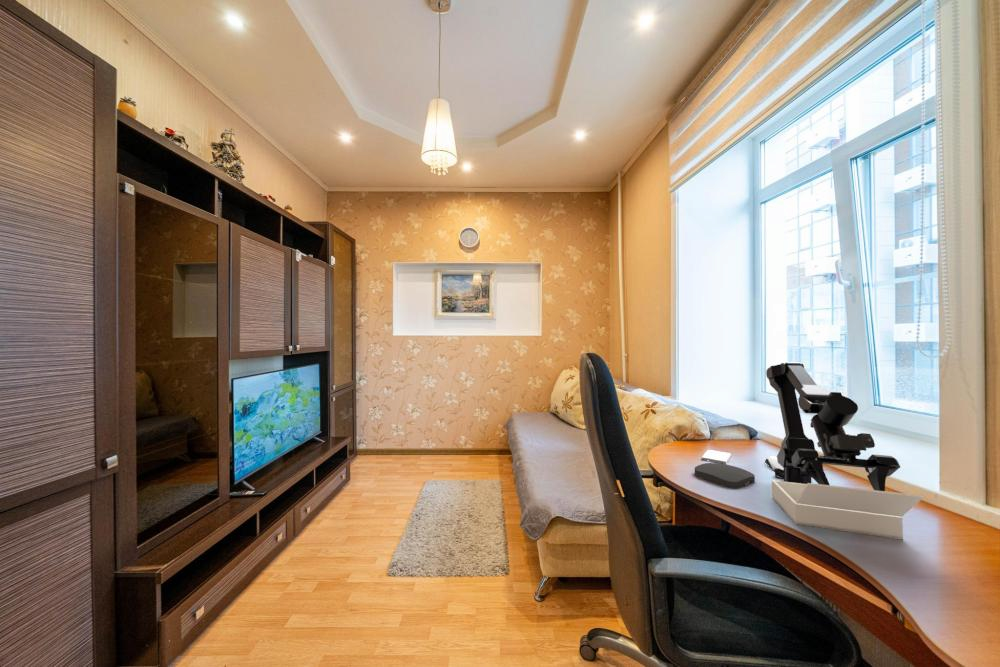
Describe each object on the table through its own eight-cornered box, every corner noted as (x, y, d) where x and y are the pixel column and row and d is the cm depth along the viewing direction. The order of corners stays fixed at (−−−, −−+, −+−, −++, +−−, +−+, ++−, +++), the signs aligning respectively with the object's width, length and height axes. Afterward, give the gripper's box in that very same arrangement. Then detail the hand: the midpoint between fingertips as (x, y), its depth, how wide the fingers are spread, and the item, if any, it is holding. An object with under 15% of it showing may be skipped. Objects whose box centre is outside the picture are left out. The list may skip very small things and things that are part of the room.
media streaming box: (689, 475, 121) (689, 466, 121) (715, 468, 128) (714, 459, 128) (734, 491, 108) (734, 481, 108) (759, 482, 115) (759, 472, 115)
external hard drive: (701, 461, 136) (707, 453, 145) (726, 466, 130) (731, 457, 140) (701, 457, 136) (707, 449, 145) (726, 461, 130) (731, 453, 140)
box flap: (796, 501, 88) (807, 482, 82) (901, 515, 81) (922, 495, 75) (796, 503, 88) (808, 484, 81) (901, 516, 81) (923, 497, 74)
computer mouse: (785, 464, 132) (785, 453, 132) (812, 482, 114) (812, 470, 114) (754, 461, 135) (754, 451, 135) (776, 479, 117) (776, 467, 117)
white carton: (772, 497, 103) (771, 480, 103) (861, 508, 96) (860, 490, 96) (795, 524, 88) (795, 503, 88) (903, 539, 81) (902, 517, 81)
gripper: (795, 416, 88) (817, 478, 78) (894, 422, 82) (932, 490, 72) (783, 438, 96) (801, 496, 86) (873, 444, 89) (904, 509, 79)
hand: (856, 497), depth 81 cm, fingers open, 9 cm apart
